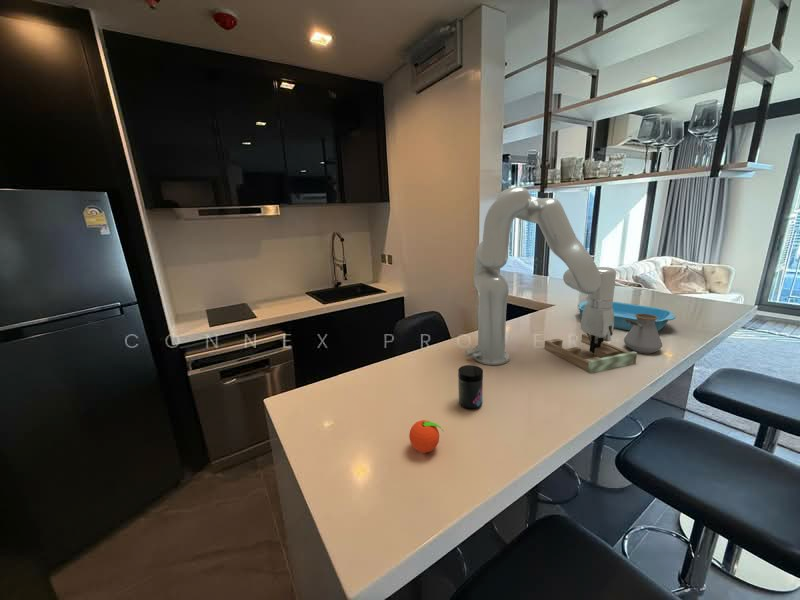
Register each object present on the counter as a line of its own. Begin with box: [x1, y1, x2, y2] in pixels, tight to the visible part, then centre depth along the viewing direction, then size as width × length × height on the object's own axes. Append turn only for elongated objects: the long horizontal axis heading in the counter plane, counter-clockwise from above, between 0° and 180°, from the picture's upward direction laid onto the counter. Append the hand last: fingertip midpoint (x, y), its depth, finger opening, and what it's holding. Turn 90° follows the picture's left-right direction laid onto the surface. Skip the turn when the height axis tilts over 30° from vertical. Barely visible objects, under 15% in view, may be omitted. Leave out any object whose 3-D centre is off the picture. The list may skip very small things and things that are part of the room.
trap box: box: [544, 333, 638, 374], centre depth 119 cm, size 19×22×4 cm
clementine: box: [408, 419, 444, 453], centre depth 76 cm, size 8×7×7 cm
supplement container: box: [457, 364, 484, 411], centre depth 92 cm, size 7×7×10 cm
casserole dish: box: [577, 300, 677, 332], centre depth 148 cm, size 37×22×7 cm, turn 40°
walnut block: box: [593, 346, 619, 358], centre depth 114 cm, size 5×5×4 cm
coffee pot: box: [622, 314, 663, 354], centre depth 117 cm, size 21×12×15 cm, turn 122°
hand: (594, 351), depth 119 cm, fingers closed
